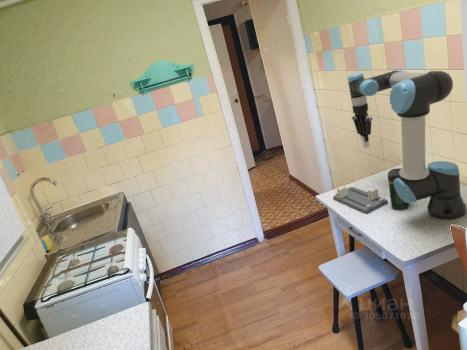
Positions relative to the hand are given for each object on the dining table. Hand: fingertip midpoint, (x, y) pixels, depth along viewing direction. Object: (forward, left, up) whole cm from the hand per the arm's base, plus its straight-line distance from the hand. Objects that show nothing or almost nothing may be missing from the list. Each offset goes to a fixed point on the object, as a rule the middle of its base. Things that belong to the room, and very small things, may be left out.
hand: (366, 146), depth 201 cm
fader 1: (+1, +19, -22) cm, 29 cm away
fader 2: (-14, +11, -22) cm, 28 cm away
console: (-7, +15, -24) cm, 29 cm away
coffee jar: (-26, +6, -25) cm, 36 cm away
